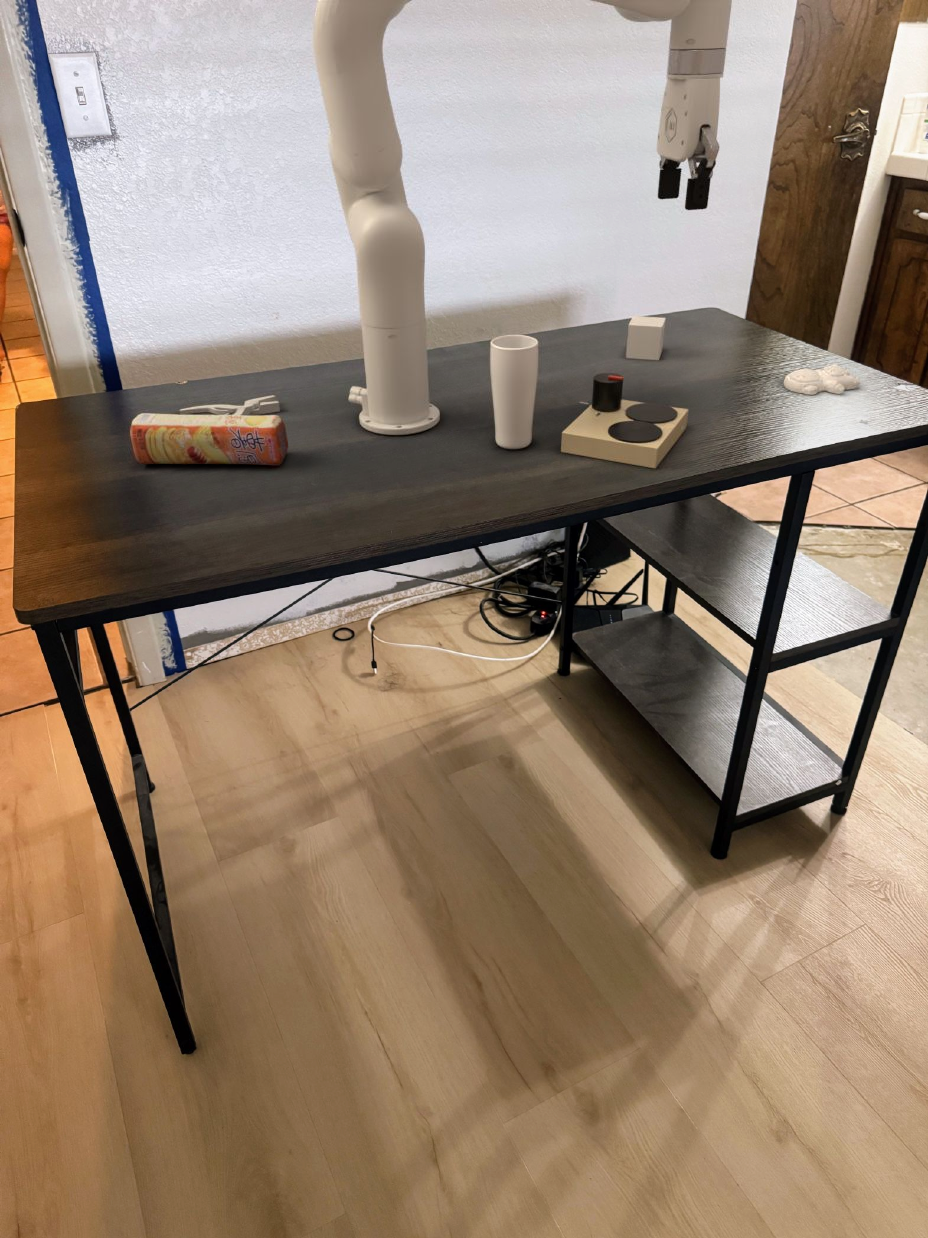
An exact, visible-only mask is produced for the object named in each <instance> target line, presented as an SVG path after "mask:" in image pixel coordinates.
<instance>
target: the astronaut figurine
mask: <svg viewBox="0 0 928 1238" xmlns="http://www.w3.org/2000/svg"><path fill="white" fill-rule="evenodd" d="M860 384H861V381H860V379H858V378H857V377H854V376H853V375H851V373H850V371H848V370H847V369H845V368H842V367H840V366H838V364H836V363H834V364H830V365H828V366H824V367H823V368H822V369H820V368H818V369H815V370H814V369H811V368H801V369H796V370H794V371H792V372H790V373H788V374H787V375H786V376H785V378H784V379H783V387H784V388H785V389H786V390H788V391H790V392H793V393H798V394H804V395H807V396H814V395H817V393H820V392H823V391H824V392H828V393H832V394H836V395H841V394H843V393H844V392H845V390H847V391H849V390H854V389H857V388H859V386H860Z"/></svg>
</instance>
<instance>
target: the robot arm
mask: <svg viewBox="0 0 928 1238" xmlns="http://www.w3.org/2000/svg"><path fill="white" fill-rule="evenodd" d="M411 1H412V0H317V4H316V6H315V11H314V17H313V24H312V25H313V26H312V45H313V53H314V54H313V55H314V61H315V66H316V72H317V76H318V77H317V78H318V81H319V85H320V91H321V96H322V100H323V106H324V110H325V114H326V118H327V122H328V128H329V132H328V133H329V134H328V142H327V143H328V145H327V146H328V153H329V158H330V159H329V160H330V163H331V168H332V171H333V176H334V180H335V183H336V187H337V192H338V195H339V199H340V203H341V207H342V211H343V215H344V218H345V223H346V226H347V230H348V235H349V237H350V239H351V242H352V244H353V247H354V252H355V253H354V254H355V262H356V273H357V275H356V277H357V290H358V304H359V305H358V306H359V307H358V308H359V317H360V324H361V337H362V349H363V360H364V371H365V372H364V373H365V383H366V385H365V386H366V388H365V387H361V386H357V385H352V386H351V388H350V390H349V395H348V402H349V403H350V404H355V405H361V407H362V410H361V412H360V413H359V416H358V420H359V424H360V426H361V427H362V428H363V429H365V430H367V431H369V432H372V433H375V434H379V435H387V436H405V435H412V434H413V435H414V434H418V433H422V432H424V431H427V430H429V429H432V428H433V427H435V426H436V425H437V424H438V423H439V422H440V420H441V412H440V409H439V408H438V407H437V406H435V405H434V404H432V403H430V390H429V389H430V388H429V368H428V367H429V365H428V345H427V323H426V309H425V308H426V305H425V303H426V302H425V270H426V269H425V268H426V267H425V266H426V262H425V261H426V245H425V237H424V232H423V228H422V226H421V224H420V222H419V219H418V218H417V216H416V214H415V213H414V212H413V211H412V209H411V208H410V207H409V204H408V201H407V196H406V191H405V185H404V181H403V176H402V171H401V168H402V164H403V157H404V156H403V145H402V142H401V137H400V134H399V131H398V127H397V123H396V120H395V115H394V110H393V105H392V101H391V95H390V92H389V87H388V79H387V73H386V67H385V62H384V55H383V54H384V52H383V46H384V45H383V44H384V37H385V33H386V31H387V27H388V26H389V24H390V22H391V21H392V20H394V19H395V18H396V17H397V16H398V15H400V13H401V12H402V11H403V9H404V8H405V6H406V5H407V4H408V3H410V2H411ZM590 1H591V2H596V3H600V4H604V5H608V6H611V7H614V9H615V11H616V12H617V13H618V14H619V15H620V16H621V17H622V18H623V19H626V20H628V21H630V22H634V23H650V22H652V23H653V22H657V23H658V22H667V21H670V20H671V21H670V31H669V33H670V34H669V44H668V54H667V55H668V56H667V65H666V66H667V68H666V83H665V87H664V88H665V89H664V92H663V97H662V103H661V111H660V116H659V124H658V132H657V141H656V153H657V154H658V155H659V156H660V160H659V164H658V167H659V177H658V188H657V199H659V200H673V199H678V198H679V196H680V187H681V178H682V168H681V167H680V165H681V164H682V163H684V162H685V161H687V164H688V169H689V173H690V177H689V178H687V183H686V193H685V200H684V201H685V202H684V209H685V210H686V211H697V210H706V209H708V205H709V196H710V186H711V179H712V178H713V175H714V168H715V167H716V164H717V163H716V162H717V161H716V160H717V157H718V154H719V151H720V143H719V141H718V140H717V139H718V129H719V117H720V103H721V100H720V99H721V78H724V72H725V65H726V54H727V46H728V37H729V31H730V30H729V28H730V20H731V13H732V12H731V11H732V5H733V0H590ZM697 164H698V165H697Z"/></svg>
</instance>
